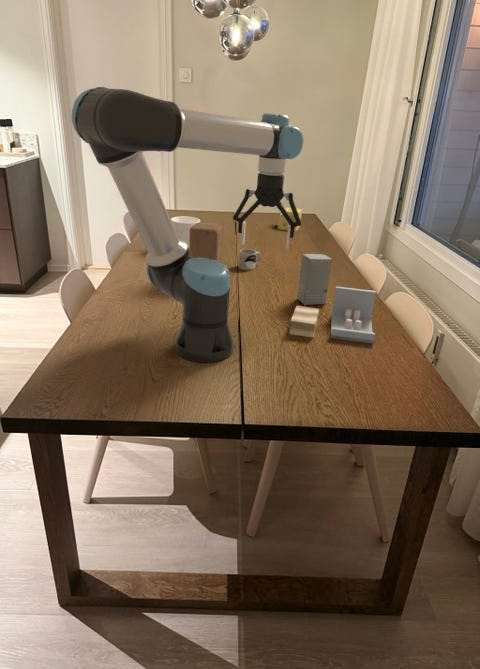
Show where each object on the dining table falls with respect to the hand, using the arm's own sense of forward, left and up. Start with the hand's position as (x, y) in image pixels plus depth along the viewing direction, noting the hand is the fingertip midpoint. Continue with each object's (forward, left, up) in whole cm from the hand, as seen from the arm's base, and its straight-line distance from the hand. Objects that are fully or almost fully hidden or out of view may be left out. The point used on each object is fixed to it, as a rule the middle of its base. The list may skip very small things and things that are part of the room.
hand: (264, 246), depth 148 cm
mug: (+41, +10, -21) cm, 47 cm away
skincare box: (+12, -16, -21) cm, 29 cm away
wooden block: (+20, +23, -21) cm, 37 cm away
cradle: (-7, -29, -21) cm, 36 cm away
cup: (+52, +40, -21) cm, 69 cm away
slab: (-10, -15, -21) cm, 28 cm away
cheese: (+112, +1, -21) cm, 114 cm away
